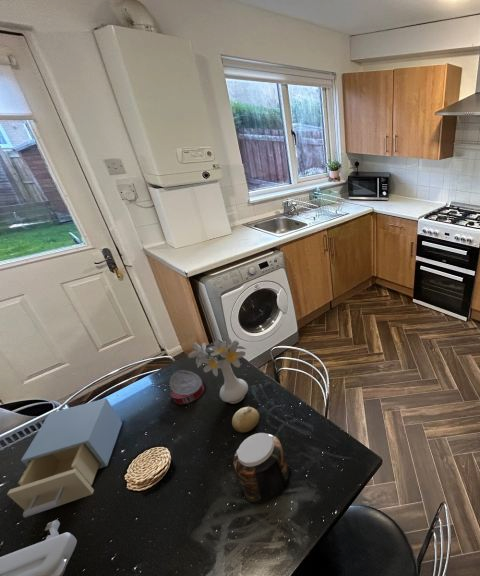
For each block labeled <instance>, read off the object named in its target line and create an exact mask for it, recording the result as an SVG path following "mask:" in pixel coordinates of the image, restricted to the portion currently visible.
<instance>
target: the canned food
mask: <svg viewBox="0 0 480 576" xmlns="http://www.w3.org/2000/svg"><path fill="white" fill-rule="evenodd" d="M168 384H169V389H170V396H171V398H172V400H173V402H174V403H175V404H176V405H187V404H189V403H193V402H194V401H197V399H199V398H200V397H201V396H202V395H203V393H204V391H205V386H204V384H203V381H202V378H201V376H199V375H198V374H197V373H196V372H193V371H191V370H186V369H180V370H177V371H174V372H173V374H172V375H171V376H170V379H169V382H168Z"/></svg>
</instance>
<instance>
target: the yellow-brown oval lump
mask: <svg viewBox="0 0 480 576" xmlns="http://www.w3.org/2000/svg"><path fill="white" fill-rule="evenodd" d="M259 421H260V413H259V412H258V410H257V409H256V408H254V407H252V406H250V405H249V404H248V405H247V406H244V407H241V408H239V409H238V410H237V411H236V412H235V413H234V414H233V416H232V419H231V425H232V428H233V430H235V431H236V432H238V433H248V432H251V431H252V430H253V429H254V428H255V427H256V426H257V425H258V423H259Z"/></svg>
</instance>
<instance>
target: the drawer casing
mask: <svg viewBox="0 0 480 576" xmlns="http://www.w3.org/2000/svg"><path fill="white" fill-rule="evenodd" d="M122 425H123V421H122V420H121V419H120V417H119V415H118V414H117V412H116V411H115V409H114V408H113V406H112V404H111V403H110V402H109V400H108V398H107V397H105V398H101V399H97V400H94V401H90V402H86V403H82V404H78V405H75V406H72V407H68V408H63V409H60V410H56V411H52V412H49V414H48V415H47V416H46V418H45V420H44V421H43V423H42V425H41V426H40V427H39V430H38V431H37V433H36V434H35V436H34V437H33V440H32V441H31V443H30V445H29V446H28V448H27V449H26V451H25V453H24V454H23V456H22V458H21V460H20V462H22V463H23V465H24V466H25V467H26V468H27V467H28V465H29V463H30V461H31V460H33V459H36V458H39V457H43V456H46V455H49V454H53V453H56V452H59V451H63V450H66V449H69V448H73V447H76V446H79V445H83V444H86V445H87V446H88V448H89V449H90V450H91V452H92V453H93V454H94V455H95V457H96V458H97V459H98V461H99V462H100V464H99V467H98V470H99V469H102V468H106V467H108V465H109V462H110V460H111V456H112V454H113V450H114V448H115V445H116V442H117V439H118V436H119V433H120V431H121V427H122Z"/></svg>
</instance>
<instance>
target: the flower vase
mask: <svg viewBox="0 0 480 576" xmlns="http://www.w3.org/2000/svg"><path fill="white" fill-rule="evenodd" d="M225 338H226V339H224V340H222V341H221V340H220V339H216V340H215V341H214V342H213V346H209V347H207V343H206V342H202V343H201V344H200V345H199V344H198V343H197V342H196V341H195V342H192V348H193V349H194V351H190V353H188V355H187V357H188V358H189V359H194V358H195V365H197V366H196V367H197V368H199V367H202V365H203V364H205V366H204V367H203V369H202V370H203V372H204V373H209V372H210V371H211V372H212V374H213V375H214V376H215V377H218V376H219V371H218V369H220V370H221V372H222V376H223V380H224V382H223V384H222V386H221V387H220V389H219V398H220V400H222V401H223V402H225V403H229V404H232V405H233V404H238V403H240V402H242V401H243V400H244V399H245V397H246V395H247V393H248V391H249V385H248V383H247V381H246V380H244V379H243V378H238V377H237V376H236V375H235V373H234V370H233V368H232V366H231V364H232V365H233V366H234V368H237V369H239V368H240V367H241V361H240V360H239V359H241V358H244V357H245V355H246V352H245V351H243V350H246V349H247V348H246V347H244V346H241V345H240V343H239V342H238V340H233V341H232V340H231V338H230V337H229V336H227V335H226V337H225ZM227 342H228V344H227ZM237 350H239V351H237Z"/></svg>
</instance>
